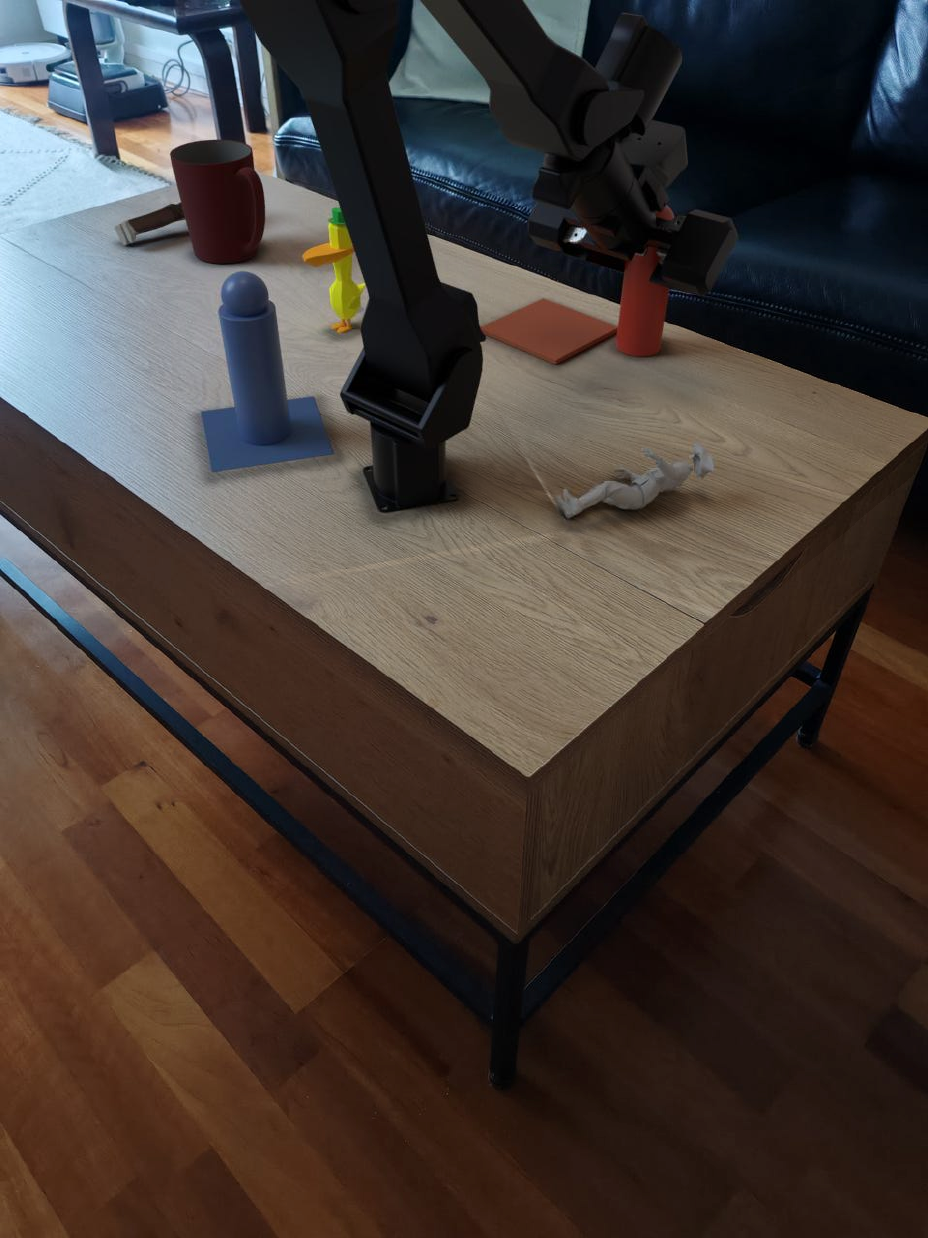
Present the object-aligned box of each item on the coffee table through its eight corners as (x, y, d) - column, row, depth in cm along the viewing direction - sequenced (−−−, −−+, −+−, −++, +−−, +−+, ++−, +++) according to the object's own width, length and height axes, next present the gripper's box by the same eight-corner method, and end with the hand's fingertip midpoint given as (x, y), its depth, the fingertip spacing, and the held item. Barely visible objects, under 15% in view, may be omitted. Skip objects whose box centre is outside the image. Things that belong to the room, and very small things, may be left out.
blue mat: (334, 458, 81) (334, 453, 80) (212, 477, 78) (211, 471, 78) (314, 400, 88) (313, 395, 87) (201, 416, 86) (200, 411, 85)
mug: (299, 257, 112) (288, 156, 105) (239, 280, 107) (223, 176, 100) (232, 232, 118) (218, 134, 111) (172, 252, 113) (153, 152, 106)
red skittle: (667, 353, 95) (690, 208, 86) (626, 359, 94) (644, 213, 85) (649, 334, 98) (669, 192, 89) (608, 339, 97) (624, 196, 88)
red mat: (555, 364, 93) (555, 359, 93) (479, 332, 98) (479, 327, 98) (618, 331, 99) (619, 326, 98) (543, 302, 104) (543, 297, 103)
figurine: (152, 275, 113) (259, 234, 120) (143, 233, 109) (254, 193, 116) (116, 244, 116) (222, 206, 123) (106, 202, 112) (216, 164, 119)
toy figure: (322, 347, 95) (310, 223, 87) (303, 335, 98) (289, 212, 90) (378, 329, 99) (372, 207, 91) (359, 317, 101) (350, 197, 93)
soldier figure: (544, 502, 78) (668, 428, 79) (575, 554, 78) (698, 479, 79) (566, 486, 70) (702, 404, 71) (600, 544, 70) (736, 461, 72)
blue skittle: (295, 441, 82) (274, 281, 72) (242, 448, 81) (214, 287, 72) (287, 415, 85) (266, 258, 76) (236, 422, 84) (209, 264, 75)
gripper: (751, 115, 74) (785, 223, 87) (554, 74, 83) (613, 178, 96) (680, 248, 75) (725, 335, 88) (493, 193, 84) (560, 280, 97)
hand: (654, 276), depth 93 cm, fingers open, 5 cm apart
